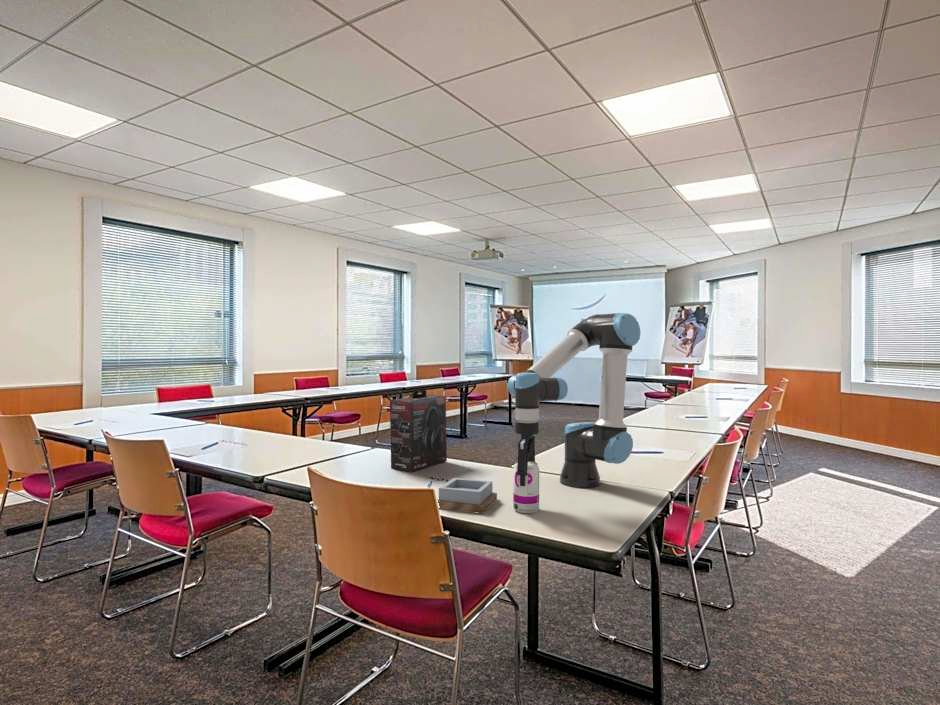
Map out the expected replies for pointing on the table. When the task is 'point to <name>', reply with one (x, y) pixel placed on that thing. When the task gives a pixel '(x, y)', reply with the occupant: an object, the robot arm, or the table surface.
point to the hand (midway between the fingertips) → (526, 491)
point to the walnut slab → (468, 505)
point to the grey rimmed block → (465, 491)
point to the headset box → (418, 431)
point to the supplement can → (532, 500)
